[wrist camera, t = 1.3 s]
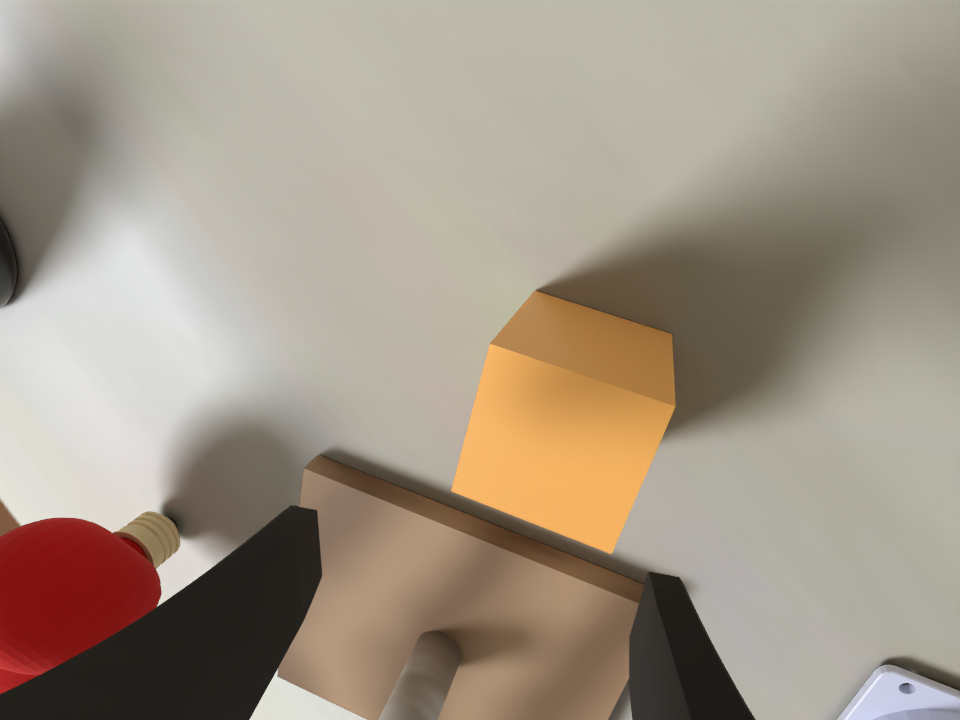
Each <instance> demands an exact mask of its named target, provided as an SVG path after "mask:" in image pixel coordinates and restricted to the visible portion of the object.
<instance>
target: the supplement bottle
mask: <svg viewBox="0 0 960 720" xmlns="http://www.w3.org/2000/svg"><path fill="white" fill-rule="evenodd" d="M16 279H17V266H16V259H15V254H14V250H13V247H12V244H11V241H10V239H9V236H8V234H7V232H6V230H5V228H4V226H3V224H2V222H1V221H0V309H1V308H2V307H3V306H4V305H5V304H6V303H7V302H8V301H9V299H10V298H11V296H12V294H13V291H14V289H15V285H16Z"/></svg>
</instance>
